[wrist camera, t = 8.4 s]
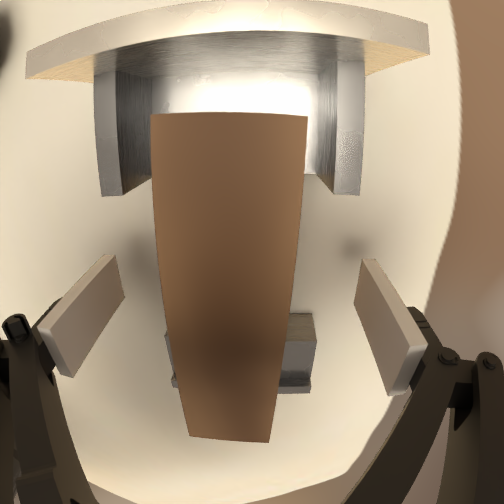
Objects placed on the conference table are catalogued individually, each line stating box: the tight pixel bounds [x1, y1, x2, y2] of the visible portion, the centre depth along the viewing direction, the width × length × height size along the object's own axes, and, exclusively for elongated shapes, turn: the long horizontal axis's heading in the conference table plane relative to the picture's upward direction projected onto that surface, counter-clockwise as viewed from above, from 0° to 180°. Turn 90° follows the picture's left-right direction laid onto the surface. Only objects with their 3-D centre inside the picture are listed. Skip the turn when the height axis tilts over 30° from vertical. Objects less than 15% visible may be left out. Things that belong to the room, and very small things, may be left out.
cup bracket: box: [25, 0, 430, 197], centre depth 11 cm, size 12×6×10 cm, turn 90°
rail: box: [151, 112, 308, 443], centre depth 14 cm, size 4×16×6 cm, turn 178°
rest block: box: [165, 314, 317, 394], centre depth 21 cm, size 10×4×4 cm, turn 90°
